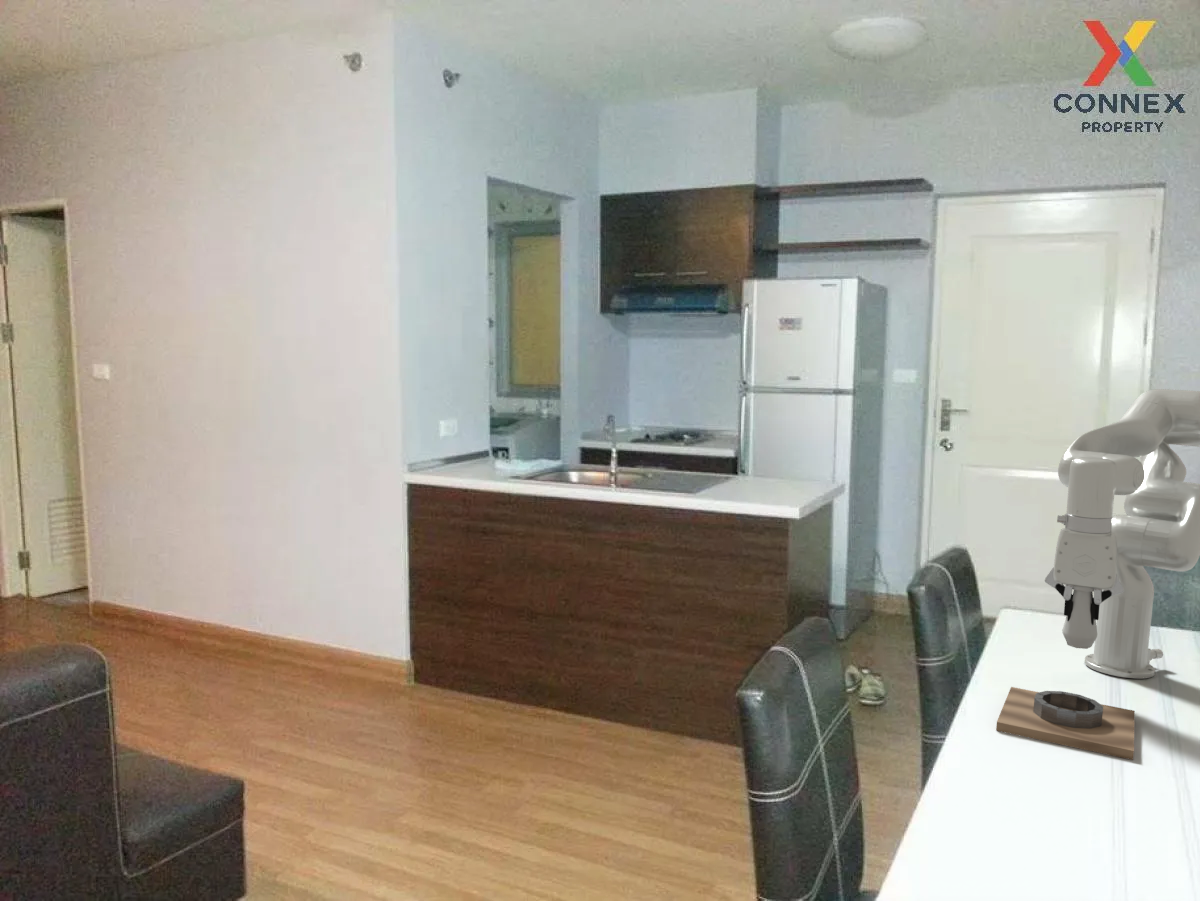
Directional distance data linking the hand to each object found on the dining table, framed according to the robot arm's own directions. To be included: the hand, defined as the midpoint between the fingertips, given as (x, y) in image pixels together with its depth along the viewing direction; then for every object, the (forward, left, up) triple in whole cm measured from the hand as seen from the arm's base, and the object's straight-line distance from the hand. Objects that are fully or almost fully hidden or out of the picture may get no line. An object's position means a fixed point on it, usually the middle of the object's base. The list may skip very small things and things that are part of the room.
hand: (1080, 620), depth 174 cm
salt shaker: (0, 0, -5) cm, 5 cm away
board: (+14, +11, -14) cm, 23 cm away
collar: (+14, +11, -13) cm, 22 cm away
